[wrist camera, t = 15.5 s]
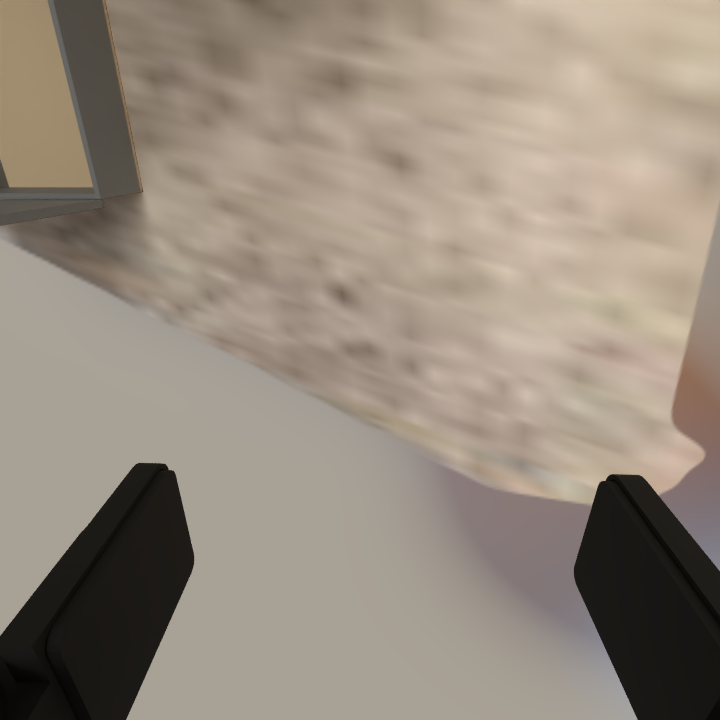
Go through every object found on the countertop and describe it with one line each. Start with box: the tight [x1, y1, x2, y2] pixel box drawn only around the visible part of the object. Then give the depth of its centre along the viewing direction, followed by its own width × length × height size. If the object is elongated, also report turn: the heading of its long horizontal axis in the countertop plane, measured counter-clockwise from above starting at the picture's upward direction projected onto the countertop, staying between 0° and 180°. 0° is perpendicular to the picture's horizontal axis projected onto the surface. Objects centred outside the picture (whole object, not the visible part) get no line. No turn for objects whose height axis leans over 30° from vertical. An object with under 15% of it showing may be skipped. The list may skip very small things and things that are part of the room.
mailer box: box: [0, 0, 143, 199], centre depth 35 cm, size 20×13×7 cm, turn 0°
